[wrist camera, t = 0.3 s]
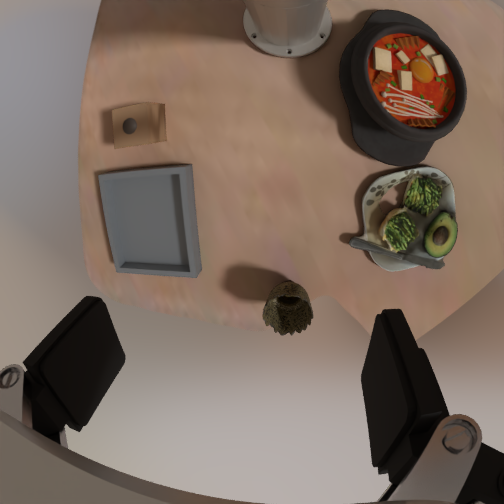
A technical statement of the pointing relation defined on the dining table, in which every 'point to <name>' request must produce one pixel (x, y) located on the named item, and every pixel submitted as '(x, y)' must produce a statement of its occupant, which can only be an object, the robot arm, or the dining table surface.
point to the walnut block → (139, 125)
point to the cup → (288, 308)
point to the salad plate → (410, 221)
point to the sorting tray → (152, 220)
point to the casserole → (400, 88)
